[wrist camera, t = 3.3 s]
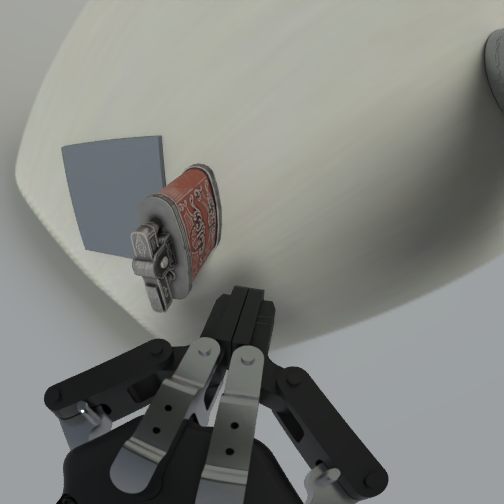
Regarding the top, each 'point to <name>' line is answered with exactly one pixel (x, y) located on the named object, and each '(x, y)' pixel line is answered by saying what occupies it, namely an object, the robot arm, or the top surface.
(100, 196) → the mat
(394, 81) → the top surface
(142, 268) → the lighter
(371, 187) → the top surface
